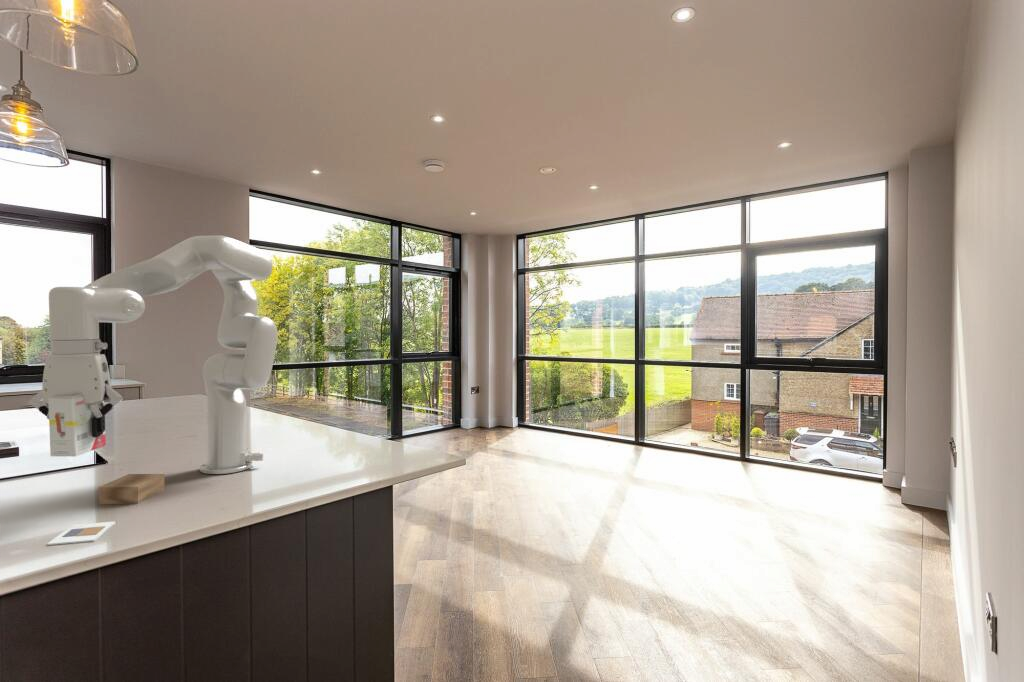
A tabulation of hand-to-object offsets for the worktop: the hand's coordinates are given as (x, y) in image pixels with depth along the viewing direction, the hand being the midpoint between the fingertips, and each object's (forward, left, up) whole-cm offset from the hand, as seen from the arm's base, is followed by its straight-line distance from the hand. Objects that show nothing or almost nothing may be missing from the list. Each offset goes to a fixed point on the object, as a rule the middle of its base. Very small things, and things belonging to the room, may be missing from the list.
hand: (78, 435), depth 104 cm
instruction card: (-5, +11, -16) cm, 20 cm away
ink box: (0, 0, -3) cm, 3 cm away
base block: (-6, -11, -17) cm, 21 cm away
